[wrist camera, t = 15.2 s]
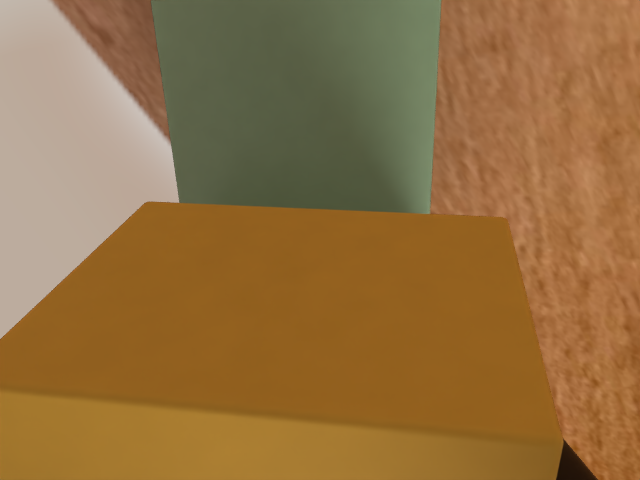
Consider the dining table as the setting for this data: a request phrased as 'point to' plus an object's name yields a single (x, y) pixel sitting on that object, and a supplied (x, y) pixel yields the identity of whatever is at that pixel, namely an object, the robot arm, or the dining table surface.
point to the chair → (301, 101)
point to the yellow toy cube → (282, 353)
